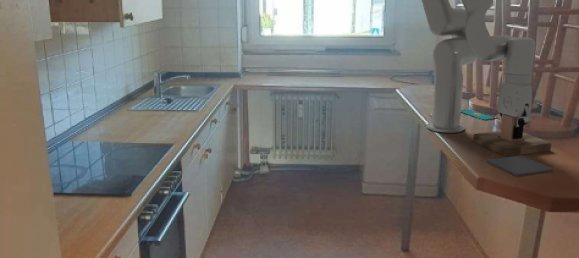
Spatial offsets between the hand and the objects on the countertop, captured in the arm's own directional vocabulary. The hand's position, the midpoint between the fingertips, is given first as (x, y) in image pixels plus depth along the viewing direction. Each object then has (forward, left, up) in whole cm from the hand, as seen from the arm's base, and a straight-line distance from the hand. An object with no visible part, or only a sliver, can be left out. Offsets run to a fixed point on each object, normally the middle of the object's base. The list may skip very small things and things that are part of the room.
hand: (511, 135), depth 157 cm
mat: (+16, -10, -3) cm, 19 cm away
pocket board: (0, 0, -3) cm, 3 cm away
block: (0, 0, -3) cm, 3 cm away
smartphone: (-36, +14, -4) cm, 39 cm away
